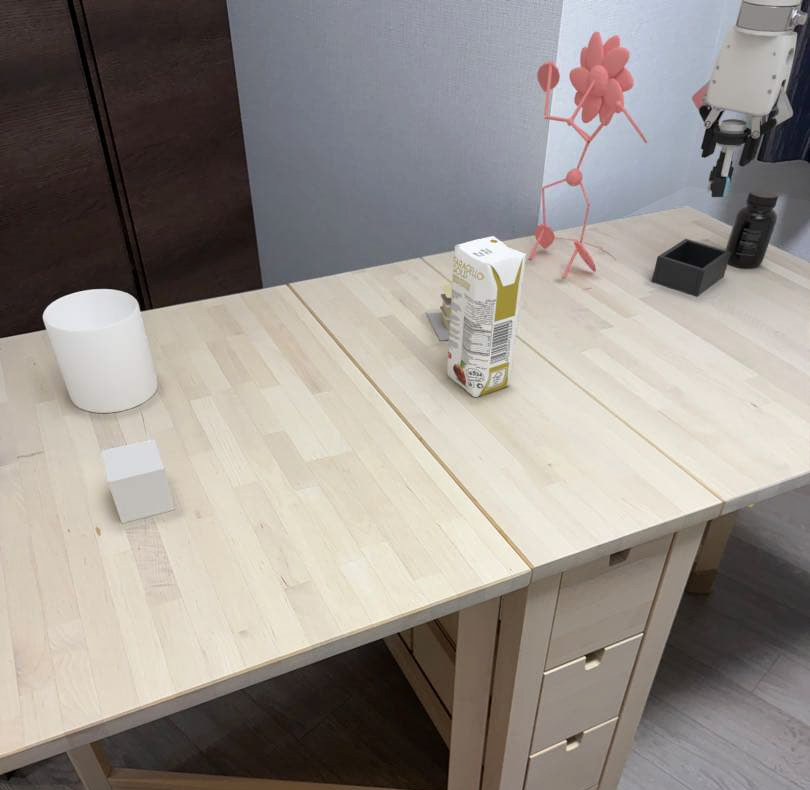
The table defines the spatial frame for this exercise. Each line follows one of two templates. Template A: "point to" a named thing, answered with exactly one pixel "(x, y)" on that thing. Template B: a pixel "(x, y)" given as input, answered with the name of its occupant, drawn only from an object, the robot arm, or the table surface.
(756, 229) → the supplement bottle
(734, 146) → the push button
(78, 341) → the cup
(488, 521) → the table surface
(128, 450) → the light grey cube
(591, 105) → the figurine
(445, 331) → the stacked layers on plate
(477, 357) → the juice carton
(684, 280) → the open box
